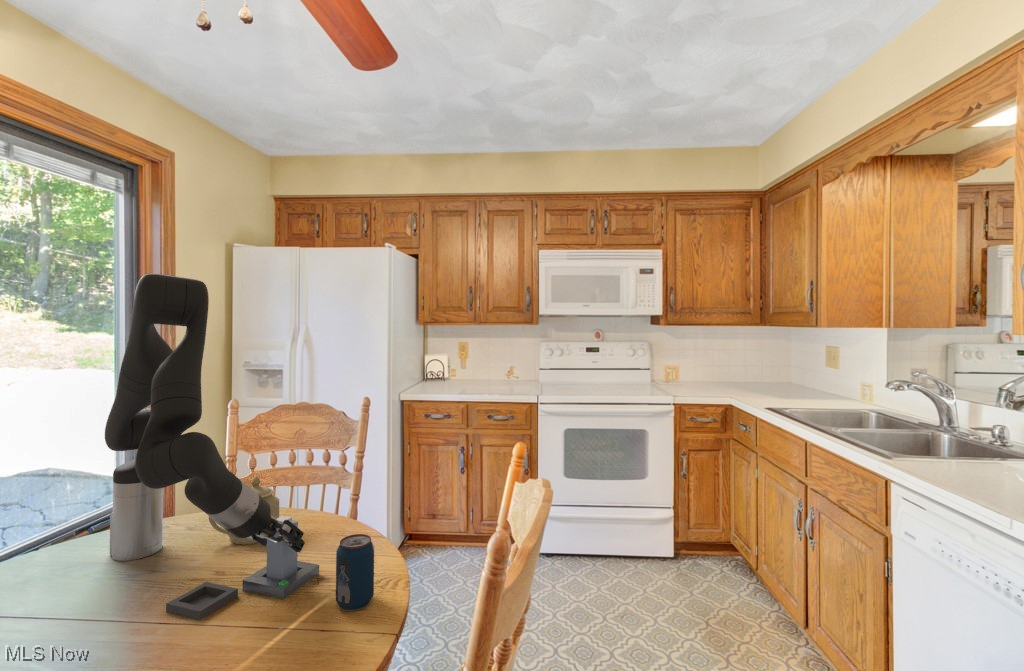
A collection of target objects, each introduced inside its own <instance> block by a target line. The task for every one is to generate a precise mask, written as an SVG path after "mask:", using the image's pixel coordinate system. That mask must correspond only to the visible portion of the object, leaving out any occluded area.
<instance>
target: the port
mask: <svg viewBox="0 0 1024 671" xmlns="http://www.w3.org/2000/svg"><path fill="white" fill-rule="evenodd" d="M266 575H267V565H266V566H264V567H262V568H261V569H259V570H257V571H255V572H254V573H252V574H251V575H248V577H246V578H244V579H242V583H241V584H242V585H241V586H242V589H241V590H242V591H243V592H247V593H252V594H256V595H257V594H258V595H260V596H261V595H262V596H266V597H271V598H275V599H281V600H285V599H287V598H288V597H290V595H292V594H294V593H295V592H297V591H298V590H299V589H301V588H302V587H304V586H305V585H307V584H308V583H309V582H310V581H312V580H313V579H315V578H316V577H318V576H319V575H320V564H316V563H311V562H306V561H300V560H297V572H296V573H295V574H293V575H292V576H290V577H289V578H287V579H285V580H282V581H281V580H276V579H271V578H266Z"/></svg>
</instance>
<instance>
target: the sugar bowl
mask: <svg viewBox="0 0 1024 671" xmlns="http://www.w3.org/2000/svg"><path fill="white" fill-rule="evenodd" d="M260 484H261V479H260V477H259V476H254V477H253V478H252V479H251V485H252V486H250V487H251V488H252V489H253V490H255V491H256V492H257V493H258V494H259V495H260V496H261V497H263V498H264V499H265V500H266V501H267V502H268V503H269V505H270V508H271V516H273V517H275V518H276V519H277V518H279V517H280V498H279V497H278V496H274V495H273V494H275V490H274V489H272V488H270V487H268V486H267V485H266V486H265V485H260ZM208 520H209V524H210V526H212V527H213V529H214V530H216V531H218V532H219V533H222V534H224V535H227V536H228V537H229V540H230V542H231V543H232V544H234V545H235V544H236V545H240V544H242V545H246V544H247V545H254V543H255V544H258V543H257V542H256V541H254V540H253V539H248V538H237V537H235V536H234V535H232V534H231V533H229V532H228V531H227V530H225V529H224V528H223V527H221V526H220V525H218V524H217V523H216V522H214V521H213V520H212V519H211V518H210V517H209V516H208Z"/></svg>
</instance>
